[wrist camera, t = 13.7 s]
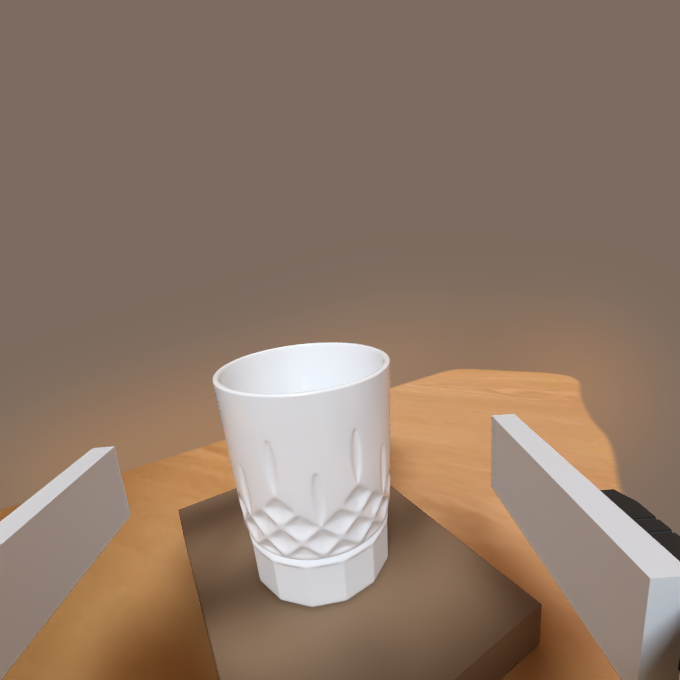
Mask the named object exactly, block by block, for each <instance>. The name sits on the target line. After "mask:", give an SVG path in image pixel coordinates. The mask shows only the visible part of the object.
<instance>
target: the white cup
mask: <svg viewBox="0 0 680 680" xmlns="http://www.w3.org/2000/svg"><path fill="white" fill-rule="evenodd" d="M213 385H214V389H215V393H216V398H217V403H218V407H219V412H220V417H221V421H222V425H223V430H224V434H225V439H226V444H227V449H228V454H229V458H230V464H231V469H232V473H233V477H234V480H235V483H236V486H237V493H238V498H239V502H240V505H241V509H242V512H243V517H244V523H245V525H246V526H247V528H248V530H249V533H250V537H251V540H252V543H253V548H254V552H255V557H256V562H257V567H258V572H259V577H260V580H261V582H262V583H264V584H265V585H266V586H267V587H268V588H269V589H270V590H271V591H272V592H273V593H274V594H275V595H276V596H277V597H278V598H280V599H281V600H284V601H288V602H292V603H297V604H301V605H305V606H309V607H316V606H321V605H327V604H332V603H337V602H342V601H346V600H348V599H350V598H351V597H353V596H354V595H356V594H357V593H359V592H360V591H362V590H363V589H365V588H366V587H368V586H369V585H370V584H372V583H373V582H374V581H375V579H376V577H377V576H378V574H379V572H380V570H381V569H382V567H383V565H384V563H385V562H386V560H387V558H388V536H387V518H388V505H389V501H390V456H391V431H390V359H389V356H388V355H387V354H386V353H385V352H383V351H382V350H380V349H377V348H374V347H370V346H366V345H360V344H353V343H310V344H299V345H292V346H285V347H279V348H273V349H269V350H264V351H260V352H257V353H253V354H250V355H247V356H244V357H241V358H238V359H236V360H234V361H232V362H230V363H228V364H226V365H224V366H223V367H221V368H220V369H219V370H218V371H217V372H216V373H215V374H214V376H213Z"/></svg>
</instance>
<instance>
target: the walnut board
mask: <svg viewBox="0 0 680 680" xmlns="http://www.w3.org/2000/svg"><path fill="white" fill-rule="evenodd" d="M179 515H180V520H181V525H182V530H183V534H184V539H185V543H186V547H187V551H188V556H189V560H190V564H191V568H192V572H193V576H194V580H195V584H196V589H197V593H198V597H199V601H200V605H201V609H202V613H203V617H204V622H205V626H206V630H207V634H208V638H209V642H210V646H211V650H212V655H213V659H214V663H215V667H216V671H217V675H218V679H219V680H500V679H501V678H502V677H503V676H505V675H506V674H507V673H508V672H509V671H510V670H511V669H512V668H513V667H514V666H515V665H516V664H517V663H518V662H519V661H520V660H522V659H523V658H524V657H525V656H526V655H527V654H528V653H529V652H530V651H531V650H532V649H533V648H534V647H535V646H536V645H538V644H539V642H540V621H541V604H540V603H539V602H538V601H536V600H535V599H534V598H533V597H531V596H530V595H529V594H528V593H526V592H525V591H524V590H522V589H521V588H520V587H519V586H517V585H516V584H515V583H514V582H512V581H511V580H510V579H508V578H507V577H506V576H505V575H503V574H502V573H501V572H500V571H498V570H497V569H496V568H495V567H493V566H492V565H491V564H489V563H488V562H487V561H486V560H484V559H483V558H482V557H481V556H479V555H478V554H477V553H475V552H474V551H473V550H472V549H470V548H469V547H468V546H467V545H465V544H464V543H463V542H461V541H460V540H459V539H458V538H456V537H455V536H454V535H453V534H451V533H450V532H449V531H447V530H446V529H445V528H444V527H442V526H441V525H440V524H439V523H437V522H436V521H435V520H433V519H432V518H431V517H430V516H428V515H427V514H426V513H425V512H423V511H422V510H421V509H420V508H418V507H417V506H416V505H414V504H413V503H412V502H411V501H409V500H408V499H407V498H406V497H404V496H403V495H402V494H400V493H399V492H398V491H397V490H395V489H394V488H393V487H392V486H390V501H389V505H388V518H387V536H388V558H387V560H386V562H385V563H384V565H383V567H382V569H381V570H380V572H379V574H378V576H377V577H376V579H375V581H374V582H373V583H372V584H370V585H369V586H368V587H366V588H365V589H363V590H362V591H360V592H359V593H357V594H356V595H354V596H353V597H351V598H350V599H348V600H346V601H342V602H337V603H332V604H327V605H321V606H316V607H309V606H305V605H301V604H297V603H292V602H288V601H284V600H281V599H280V598H278V597H277V596H276V595H275V594H274V593H273V592H272V591H271V590H270V589H269V588H268V587H267V586H266V585H265V584H264V583H262V582H261V580H260V577H259V572H258V567H257V562H256V557H255V552H254V548H253V543H252V540H251V537H250V533H249V530H248V528H247V526H246V525H245V523H244V517H243V512H242V509H241V505H240V502H239V498H238V493H237V488H236V489H233V490H231V491H228V492H225V493H223V494H220V495H217V496H215V497H212V498H209V499H206V500H204V501H201V502H198V503H196V504H193V505H190V506H188V507H185V508H182V509H180V510H179Z"/></svg>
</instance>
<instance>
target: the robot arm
mask: <svg viewBox="0 0 680 680" xmlns="http://www.w3.org/2000/svg"><path fill="white" fill-rule="evenodd" d="M491 487H492V488H493V490H494V491H495V493H496V494H497V496H498V497H499V499H500V500H501V502H502V503H503V505H504V506H505V508H506V509H507V511H508V512H509V514H510V515H511V517H512V518H513V520H514V521H515V523H516V524H517V526H518V527H519V529H520V530H521V531H522V533H523V534H524V536H525V537H526V539H527V540H528V542H529V543H530V545H531V546H532V548H533V549H534V551H535V552H536V554H537V555H538V557H539V558H540V560H541V561H542V563H543V564H544V566H545V567H546V569H547V570H548V572H549V573H550V575H551V576H552V578H553V579H554V580H555V582H556V583H557V585H558V586H559V588H560V589H561V591H562V592H563V594H564V595H565V597H566V598H567V600H568V601H569V603H570V604H571V606H572V607H573V609H574V610H575V612H576V613H577V615H578V616H579V618H580V619H581V621H582V622H583V624H584V625H585V627H586V628H587V629H588V631H589V632H590V634H591V635H592V637H593V638H594V640H595V641H596V643H597V644H598V646H599V647H600V649H601V650H602V652H603V653H604V655H605V656H606V658H607V659H608V661H609V662H610V664H611V665H612V667H613V668H614V670H615V671H616V673H617V674H618V675H619V677H620V678H621V680H679V674H680V536H679V535H677V534H676V533H672V531H671V529H670V528H669V527H668V526H666V525H665V524H664V523H662V522H661V521H660V520H657V519H656V518H655V516H654V515H653V514H651V513H650V512H649V511H648V510H647V509H646V508H644V507H643V506H642V505H641V504H639V503H638V502H637V501H635V500H633V499H631V498H629V497H627V496H625V495H623V494H621V493H619V492H618V491H616V490H614V489H612V490H599V489H598V488H597V487H595V486H594V485H593V484H592V483H591V482H590V481H589V480H588V479H586V478H585V477H584V476H583V475H582V474H581V473H580V472H579V471H577V470H576V469H575V468H574V467H573V466H572V465H571V464H570V463H568V462H567V461H566V460H565V459H564V458H563V457H562V456H561V455H560V454H558V453H557V452H556V451H555V450H554V449H553V448H552V447H551V446H549V445H548V444H547V443H546V442H545V441H544V440H543V439H542V438H540V437H539V436H538V435H537V434H536V433H535V432H534V431H533V430H531V429H530V428H529V427H528V426H527V425H526V424H525V423H524V422H522V421H521V420H520V419H519V418H518V417H517V416H516V415H515V414H507V415H495V416H492V441H491ZM130 516H131V513H130V509H129V505H128V500H127V496H126V492H125V488H124V484H123V479H122V475H121V471H120V467H119V463H118V459H117V455H116V450H115V447H114V446H112V447H100V448H92V449H91V450H90V451H89V452H87V453H86V454H85V455H84V456H82V457H81V458H80V459H78V460H77V461H76V462H75V463H73V464H72V465H71V466H70V467H68V468H67V469H66V470H65V471H63V472H62V473H61V474H60V475H58V476H57V477H56V478H54V479H53V480H52V481H51V482H49V483H48V484H47V485H46V486H44V487H43V488H42V489H41V490H39V491H38V492H37V493H36V494H34V495H33V496H32V497H31V498H29V499H28V500H27V501H26V502H24V503H23V504H22V505H21V506H19V507H18V508H17V509H15V510H14V511H13V512H12V513H10V514H9V515H8V516H7V517H5V518H4V519H3V520H2V521H0V680H2V678H3V677H4V676H5V675H6V673H7V672H8V671H9V670H10V668H11V667H12V666H13V664H14V663H15V662H16V661H17V659H18V658H19V657H20V656H21V654H22V653H23V652H24V650H25V649H26V648H27V647H28V645H29V644H30V643H31V642H32V640H33V639H34V638H35V636H36V635H37V634H38V633H39V631H40V630H41V629H42V628H43V626H44V625H45V624H46V622H47V621H48V620H49V619H50V617H51V616H52V615H53V614H54V612H55V611H56V610H57V608H58V607H59V606H60V605H61V603H62V602H63V601H64V600H65V598H66V597H67V596H68V594H69V593H70V592H71V591H72V589H73V588H74V587H75V586H76V584H77V583H78V582H79V580H80V579H81V578H82V577H83V575H84V574H85V573H86V572H87V570H88V569H89V568H90V567H91V565H92V564H93V563H94V561H95V560H96V559H97V558H98V556H99V555H100V554H101V553H102V551H103V550H104V549H105V547H106V546H107V545H108V544H109V542H110V541H111V540H112V539H113V537H114V536H115V535H116V533H117V532H118V531H119V530H120V528H121V527H122V526H123V525H124V523H125V522H126V521H127V519H128V518H129V517H130Z"/></svg>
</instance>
